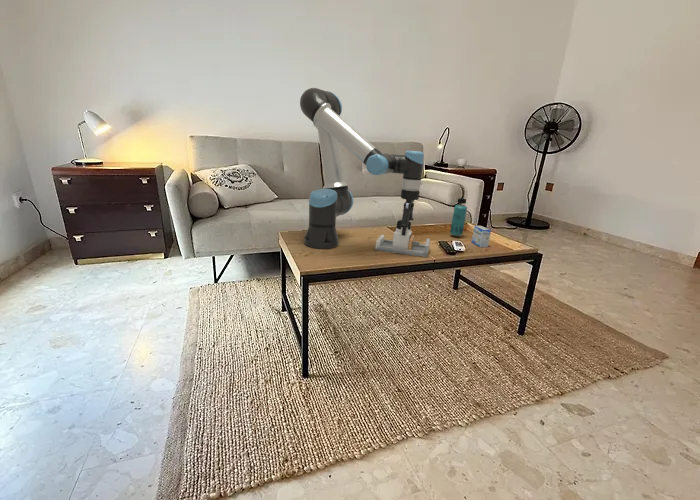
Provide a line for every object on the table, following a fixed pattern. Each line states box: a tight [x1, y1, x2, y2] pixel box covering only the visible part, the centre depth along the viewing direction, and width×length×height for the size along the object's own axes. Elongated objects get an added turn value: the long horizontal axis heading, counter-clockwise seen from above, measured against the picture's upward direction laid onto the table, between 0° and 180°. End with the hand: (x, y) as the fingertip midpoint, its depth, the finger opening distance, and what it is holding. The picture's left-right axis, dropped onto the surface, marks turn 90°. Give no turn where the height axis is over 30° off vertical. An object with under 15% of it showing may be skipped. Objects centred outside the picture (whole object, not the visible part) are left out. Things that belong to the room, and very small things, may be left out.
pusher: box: [409, 234, 421, 250], centre depth 149 cm, size 4×8×5 cm, turn 164°
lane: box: [375, 234, 431, 258], centre depth 151 cm, size 22×12×5 cm, turn 74°
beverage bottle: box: [449, 197, 468, 237], centre depth 176 cm, size 6×7×20 cm
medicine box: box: [471, 225, 492, 248], centre depth 166 cm, size 8×4×9 cm, turn 12°
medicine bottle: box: [392, 219, 413, 249], centre depth 150 cm, size 7×7×12 cm
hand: (404, 238), depth 150 cm, fingers open, 13 cm apart
